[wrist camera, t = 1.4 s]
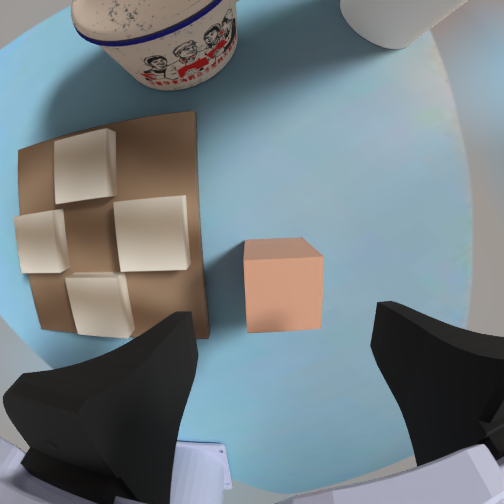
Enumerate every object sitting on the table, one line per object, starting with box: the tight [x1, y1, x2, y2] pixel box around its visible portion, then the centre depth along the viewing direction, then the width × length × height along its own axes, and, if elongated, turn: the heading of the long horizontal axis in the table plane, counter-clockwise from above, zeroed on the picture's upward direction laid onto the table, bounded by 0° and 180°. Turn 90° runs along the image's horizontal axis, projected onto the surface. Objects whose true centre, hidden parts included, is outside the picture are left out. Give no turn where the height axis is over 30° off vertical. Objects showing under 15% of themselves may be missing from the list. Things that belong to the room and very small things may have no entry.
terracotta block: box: [244, 238, 324, 333], centre depth 18 cm, size 4×4×6 cm
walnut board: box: [14, 111, 210, 339], centre depth 19 cm, size 16×16×2 cm
